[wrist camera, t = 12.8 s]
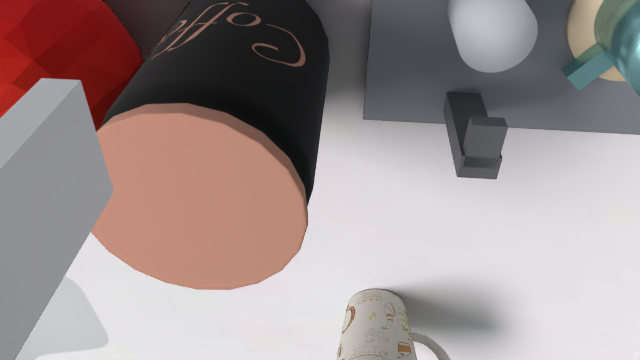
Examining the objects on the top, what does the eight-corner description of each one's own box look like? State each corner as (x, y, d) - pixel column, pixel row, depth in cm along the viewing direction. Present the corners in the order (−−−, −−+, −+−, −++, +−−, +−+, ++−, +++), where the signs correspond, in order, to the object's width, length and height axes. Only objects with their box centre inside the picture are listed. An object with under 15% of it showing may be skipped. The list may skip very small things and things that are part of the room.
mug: (352, 271, 52) (349, 362, 44) (468, 304, 54) (485, 396, 46) (325, 320, 57) (318, 408, 49) (432, 348, 59) (442, 438, 51)
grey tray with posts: (386, -167, 29) (391, -145, 22) (796, -154, 28) (935, -127, 21) (363, 112, 40) (362, 185, 34) (656, 128, 40) (718, 206, 33)
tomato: (-44, -77, 34) (-234, -3, 23) (168, -48, 34) (76, 39, 23) (16, 126, 44) (-98, 244, 33) (181, 148, 44) (120, 272, 33)
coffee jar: (338, -22, 34) (317, 127, 20) (324, 117, 41) (300, 302, 27) (176, -40, 34) (43, 97, 20) (188, 102, 41) (94, 279, 27)
